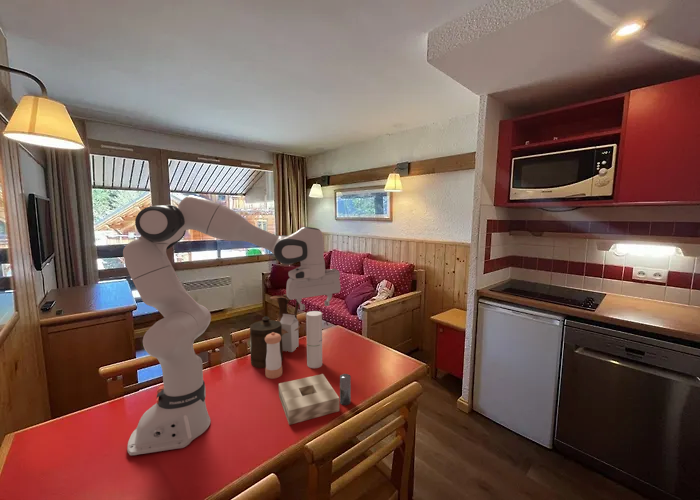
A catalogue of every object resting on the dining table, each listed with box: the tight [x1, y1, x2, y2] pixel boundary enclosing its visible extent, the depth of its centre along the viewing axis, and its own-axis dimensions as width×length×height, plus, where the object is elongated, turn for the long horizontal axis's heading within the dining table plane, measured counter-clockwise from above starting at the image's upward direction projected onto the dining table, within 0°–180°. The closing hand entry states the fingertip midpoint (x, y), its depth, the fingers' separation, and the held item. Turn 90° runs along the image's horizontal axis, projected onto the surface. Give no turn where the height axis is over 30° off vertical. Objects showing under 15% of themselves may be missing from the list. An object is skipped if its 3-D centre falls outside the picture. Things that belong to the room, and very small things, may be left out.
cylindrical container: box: [305, 310, 323, 369], centre depth 138 cm, size 7×7×25 cm
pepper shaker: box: [264, 332, 283, 380], centre depth 130 cm, size 7×7×19 cm
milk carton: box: [280, 313, 300, 353], centre depth 155 cm, size 7×7×19 cm
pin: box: [339, 373, 352, 406], centre depth 110 cm, size 4×4×10 cm
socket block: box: [278, 373, 340, 426], centre depth 110 cm, size 18×18×5 cm
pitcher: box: [269, 293, 302, 335], centre depth 158 cm, size 18×17×28 cm
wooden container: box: [249, 316, 284, 369], centre depth 142 cm, size 15×15×22 cm
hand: (315, 307), depth 110 cm, fingers open, 8 cm apart
